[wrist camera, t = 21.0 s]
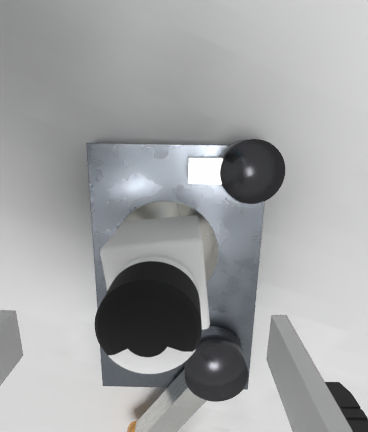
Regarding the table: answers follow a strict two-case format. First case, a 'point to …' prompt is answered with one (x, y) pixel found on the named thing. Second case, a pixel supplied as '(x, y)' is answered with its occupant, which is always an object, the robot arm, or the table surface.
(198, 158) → the knob
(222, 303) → the dark grey base plate
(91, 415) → the table surface
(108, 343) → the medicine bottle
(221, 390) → the ball lever handle
